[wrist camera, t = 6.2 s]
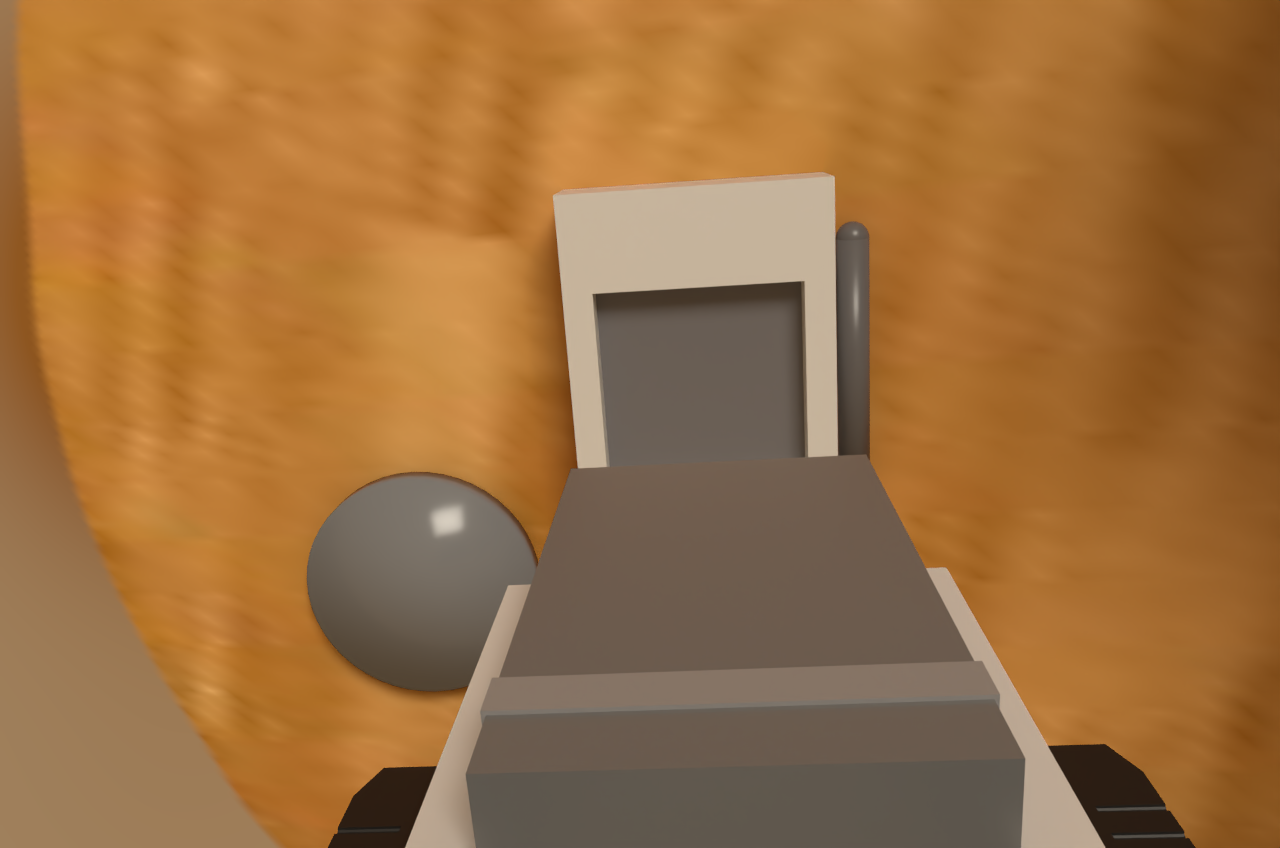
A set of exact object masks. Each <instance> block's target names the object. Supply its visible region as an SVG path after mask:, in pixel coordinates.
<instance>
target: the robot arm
mask: <svg viewBox="0 0 1280 848" xmlns="http://www.w3.org/2000/svg"><path fill="white" fill-rule="evenodd" d="M926 570H927V572H928V573H929V575H930V577H931V579H932V581H933V583H934V585H935V587H936V589H937V591H938V593H939V594H940V596H941V598H942V600H943V602H944V604H945V606H946V608H947V610H948V612H949V613H950V615H951V617H952V619H953V621H954V623H955V625H956V627H957V629H958V631H959V633H960V634H961V636H962V638H963V640H964V642H965V644H966V646H967V648H968V650H969V652H970V654H971V655H972V657H973V659H974V661H982V662H983V664H984V665H985V667H986V669H987V671H988V673H989V675H990V677H991V678H992V680H993V682H994V684H995V686H996V688H997V690H998V691H999V693H1000V711H1001V713H1002V715H1003V717H1004V718H1005V720H1006V722H1007V724H1008V726H1009V728H1010V730H1011V732H1012V734H1013V736H1014V738H1015V739H1016V741H1017V743H1018V745H1019V747H1020V749H1021V751H1022V753H1023V755H1024V757H1025V778H1024V798H1023V818H1022V838H1021V848H1195V846H1194V845H1193V844H1192V842H1191V841H1190V839H1189V838H1185V835H1184V831H1183V829H1182V828H1181V826H1180V825H1179V823H1178V822H1177V820H1176V819H1175V817H1174V816H1173V815H1172V813H1171V812H1170V811H1167V810H1166V807H1165V803H1164V802H1163V800H1162V799H1161V797H1160V796H1159V794H1158V793H1157V791H1156V790H1155V789H1154V787H1153V786H1152V784H1151V783H1150V781H1149V780H1148V778H1147V777H1146V776H1145V774H1144V773H1143V771H1141V770H1140V769H1138V768H1137V767H1136V766H1134V765H1133V764H1132V763H1130V762H1129V761H1127V760H1126V759H1125V758H1123V757H1122V756H1121V755H1119V754H1118V753H1116V752H1115V751H1114V750H1112V749H1111V748H1110V747H1108V746H1107V745H1105V744H1097V745H1062V746H1047V744H1046V742H1045V740H1044V739H1043V737H1042V735H1041V733H1040V732H1039V730H1038V728H1037V726H1036V725H1035V723H1034V721H1033V719H1032V717H1031V716H1030V714H1029V712H1028V710H1027V709H1026V707H1025V705H1024V703H1023V702H1022V700H1021V698H1020V696H1019V695H1018V693H1017V691H1016V689H1015V688H1014V686H1013V684H1012V682H1011V681H1010V679H1009V677H1008V675H1007V673H1006V672H1005V670H1004V668H1003V666H1002V665H1001V663H1000V661H999V659H998V658H997V656H996V654H995V652H994V651H993V649H992V647H991V645H990V644H989V642H988V640H987V638H986V637H985V635H984V633H983V631H982V630H981V628H980V626H979V624H978V622H977V621H976V619H975V617H974V615H973V614H972V612H971V610H970V608H969V607H968V605H967V603H966V601H965V600H964V598H963V596H962V594H961V593H960V591H959V589H958V587H957V586H956V584H955V582H954V580H953V579H952V577H951V575H950V573H949V571H948V570H947V568H926ZM530 586H531V584H529V585H508V587H507V590H506V592H505V595H504V598H503V600H502V603H501V605H500V608H499V610H498V613H497V615H496V618H495V620H494V623H493V625H492V628H491V631H490V633H489V636H488V638H487V641H486V643H485V646H484V648H483V651H482V653H481V656H480V659H479V661H478V664H477V666H476V669H475V671H474V674H473V676H472V679H471V681H470V684H469V687H468V689H467V692H466V694H465V697H464V699H463V702H462V704H461V707H460V709H459V712H458V714H457V717H456V720H455V722H454V725H453V727H452V730H451V732H450V735H449V737H448V740H447V742H446V745H445V748H444V750H443V753H442V755H441V758H440V760H439V763H438V765H437V766H433V767H398V768H383V769H382V770H381V771H380V772H379V773H378V774H377V775H376V776H375V777H374V778H373V779H371V780H370V781H369V782H368V783H367V784H366V785H365V786H364V787H363V788H362V789H361V790H360V791H358V792H357V793H356V794H355V795H354V796H353V798H352V800H351V802H350V804H349V806H348V808H347V810H346V812H345V814H344V816H343V818H342V820H341V822H340V824H339V826H338V833H337V834H334V836H333V838H332V840H331V842H330V844H329V846H328V848H476V846H475V839H474V832H473V825H472V817H471V810H470V803H469V796H468V789H467V782H466V771H467V768H468V766H469V763H470V760H471V757H472V754H473V751H474V748H475V745H476V742H477V739H478V737H479V734H480V731H481V728H482V722H481V715H480V710H481V707H482V704H483V702H484V699H485V696H486V693H487V690H488V688H489V685H490V682H491V679H492V678H499V676H500V673H501V670H502V667H503V664H504V661H505V658H506V655H507V653H508V650H509V647H510V644H511V641H512V638H513V635H514V632H515V629H516V627H517V624H518V621H519V618H520V615H521V612H522V609H523V606H524V603H525V600H526V598H527V595H528V592H529V589H530Z"/></svg>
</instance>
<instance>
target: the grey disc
mask: <svg viewBox="0 0 1280 848" xmlns="http://www.w3.org/2000/svg"><path fill="white" fill-rule="evenodd" d="M537 566H538V560H537V557H536V554H535V551H534V547H533V545H532V543H531V541H530V539H529V537H528V535H527V533H526V532H525V530H524V529H523V527H522V525H521V524H520V522H519V521H518V520H517V519H516V518H515V516H514V515H513V514H512V513H511V512H510V511H509V510H508V509H507V508H506V507H505V506H504V505H503V504H502V503H501V502H500V501H499V500H497V499H496V498H494V497H493V496H492V495H490V494H489V493H487V492H486V491H484V490H482V489H481V488H479V487H477V486H475V485H473V484H471V483H468V482H466V481H463V480H461V479H458V478H455V477H451V476H447V475H444V474H437V473H430V472H408V473H400V474H394V475H390V476H386V477H383V478H380V479H378V480H375V481H373V482H370V483H368V484H366V485H365V486H363V487H361V488H359V489H357V490H356V491H355V492H354V493H352V494H351V495H350V496H348V497H347V498H346V499H345V500H344V501H343V502H342V503H341V504H340V505H339V506H338V507H337V508H336V509H335V510H334V511H333V512H332V514H331V515H330V516H329V517H328V518H327V520H326V521H325V522H324V524H323V525H322V527H321V528H320V530H319V532H318V534H317V536H316V538H315V540H314V542H313V545H312V548H311V551H310V555H309V561H308V566H307V585H308V594H309V598H310V602H311V606H312V609H313V612H314V614H315V617H316V619H317V621H318V623H319V625H320V627H321V629H322V630H323V632H324V634H325V635H326V637H327V638H328V639H329V641H330V642H331V643H332V645H333V646H334V647H335V648H336V649H337V650H338V651H339V652H340V653H341V654H342V656H344V657H345V658H346V659H347V660H348V661H350V662H351V663H352V664H353V665H354V666H356V667H357V668H359V669H360V670H362V671H363V672H365V673H367V674H368V675H370V676H372V677H374V678H376V679H378V680H380V681H383V682H386V683H388V684H391V685H394V686H398V687H402V688H406V689H411V690H418V691H445V690H453V689H458V688H462V687H466V686H469V684H470V681H471V679H472V676H473V674H474V671H475V669H476V666H477V664H478V661H479V659H480V656H481V653H482V651H483V648H484V646H485V643H486V641H487V638H488V636H489V633H490V631H491V628H492V625H493V623H494V620H495V618H496V615H497V613H498V610H499V608H500V605H501V603H502V600H503V598H504V595H505V592H506V590H507V587H508V585H529V584H531V583H532V580H533V577H534V574H535V571H536V569H537Z"/></svg>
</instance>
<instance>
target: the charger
mask: <svg viewBox="0 0 1280 848" xmlns="http://www.w3.org/2000/svg"><path fill="white" fill-rule="evenodd" d="M480 715H481V722H482V728H481V731H480V734H479V737H478V739H477V742H476V745H475V748H474V751H473V754H472V757H471V760H470V763H469V766H468V768H467V771H466V782H467V789H468V796H469V803H470V810H471V817H472V825H473V832H474V839H475V846H476V848H1021V838H1022V818H1023V798H1024V778H1025V757H1024V755H1023V753H1022V751H1021V749H1020V747H1019V745H1018V743H1017V741H1016V739H1015V738H1014V736H1013V734H1012V732H1011V730H1010V728H1009V726H1008V724H1007V722H1006V720H1005V718H1004V717H1003V715H1002V713H1001V711H1000V693H999V691H998V690H997V688H996V686H995V684H994V682H993V680H992V678H991V677H990V675H989V673H988V671H987V669H986V667H985V665H984V664H983V662H982V661H974V659H973V657H972V655H971V654H970V652H969V650H968V648H967V646H966V644H965V642H964V640H963V638H962V636H961V634H960V633H959V631H958V629H957V627H956V625H955V623H954V621H953V619H952V617H951V615H950V613H949V612H948V610H947V608H946V606H945V604H944V602H943V600H942V598H941V596H940V594H939V593H938V591H937V589H936V587H935V585H934V583H933V581H932V579H931V577H930V575H929V573H928V572H927V570H926V568H925V566H924V564H923V562H922V560H921V558H920V556H919V554H918V552H917V551H916V549H915V547H914V545H913V543H912V541H911V539H910V537H909V535H908V533H907V531H906V530H905V528H904V526H903V524H902V522H901V520H900V518H899V516H898V514H897V512H896V510H895V509H894V507H893V505H892V503H891V501H890V499H889V497H888V495H887V493H886V491H885V489H884V488H883V486H882V484H881V482H880V480H879V478H878V476H877V474H876V472H875V470H874V468H873V467H872V465H871V463H870V461H869V459H868V457H867V455H866V454H864V455H844V456H823V457H803V458H782V459H762V460H741V461H720V462H700V463H679V464H659V465H638V466H617V467H597V468H576V469H571V470H570V473H569V476H568V479H567V482H566V485H565V488H564V490H563V493H562V496H561V499H560V502H559V505H558V508H557V511H556V514H555V516H554V519H553V522H552V525H551V528H550V531H549V534H548V537H547V540H546V543H545V545H544V548H543V551H542V554H541V557H540V560H539V563H538V566H537V569H536V571H535V574H534V577H533V580H532V583H531V586H530V589H529V592H528V595H527V598H526V600H525V603H524V606H523V609H522V612H521V615H520V618H519V621H518V624H517V627H516V629H515V632H514V635H513V638H512V641H511V644H510V647H509V650H508V653H507V655H506V658H505V661H504V664H503V667H502V670H501V673H500V676H499V678H492V679H491V682H490V685H489V688H488V690H487V693H486V696H485V699H484V702H483V704H482V707H481V710H480Z"/></svg>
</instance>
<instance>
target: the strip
mask: <svg viewBox="0 0 1280 848" xmlns="http://www.w3.org/2000/svg"><path fill="white" fill-rule="evenodd" d="M553 202H554V213H555V224H556V234H557V245H558V256H559V267H560V278H561V289H562V300H563V311H564V322H565V333H566V344H567V355H568V366H569V376H570V387H571V398H572V409H573V420H574V431H575V442H576V453H577V464H578V468H597V467H617V466H638V465H659V464H679V463H700V462H720V461H741V460H762V459H782V458H803V457H823V456H844V455H864V454H866V455H867V457H868V459H869V461H870V381H869V233H868V231H867V229H866V227H865V226H864V225H862V224H861V223H859V222H848V223H845V224H844V225H842V226H841V227H840V228H839V230H838V232H837V234H836V256H835V176H832V175H830V174H827V173H824V172H816V173H802V174H787V175H772V176H758V177H743V178H728V179H713V180H699V181H684V182H669V183H654V184H640V185H625V186H610V187H595V188H581V189H566V190H562V191H560V192H558V193H556V194H554V195H553ZM836 300H837V340H836ZM837 385H838V424H837Z"/></svg>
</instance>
